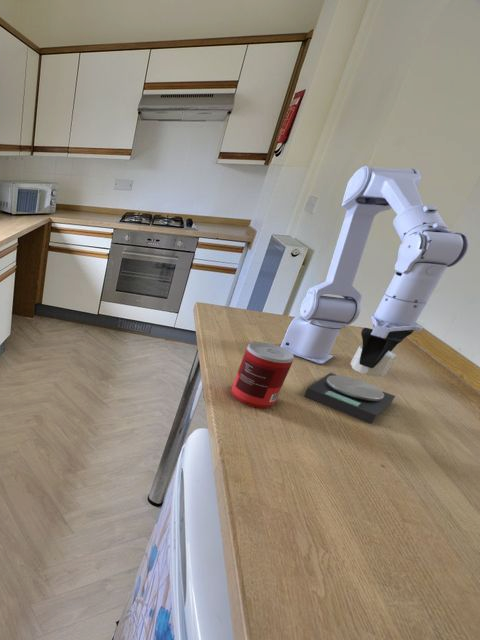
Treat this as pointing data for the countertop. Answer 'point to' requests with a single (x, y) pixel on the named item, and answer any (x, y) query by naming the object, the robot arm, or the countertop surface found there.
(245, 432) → the countertop surface
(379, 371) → the cup
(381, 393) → the scale pan
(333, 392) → the scale
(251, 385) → the canned food
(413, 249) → the robot arm
